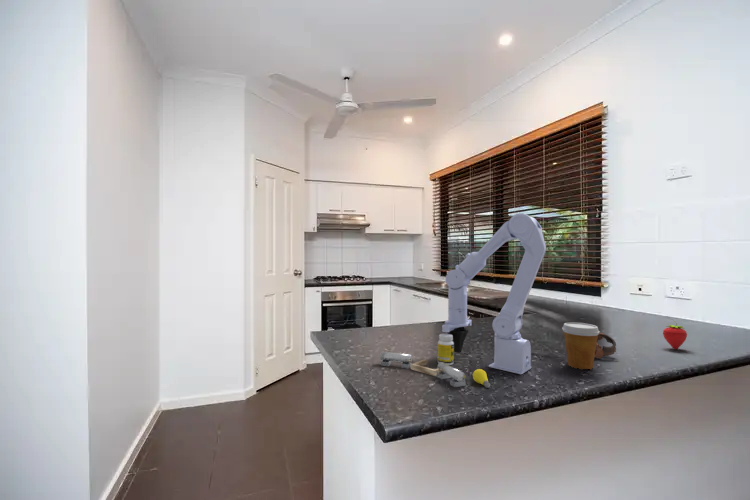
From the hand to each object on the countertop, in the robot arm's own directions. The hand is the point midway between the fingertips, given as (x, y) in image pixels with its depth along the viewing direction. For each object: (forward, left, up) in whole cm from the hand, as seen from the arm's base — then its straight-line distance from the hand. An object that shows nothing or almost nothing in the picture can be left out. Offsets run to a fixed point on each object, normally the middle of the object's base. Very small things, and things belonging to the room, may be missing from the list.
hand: (457, 351), depth 112 cm
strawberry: (-49, -63, -2) cm, 80 cm away
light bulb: (-16, +15, -2) cm, 22 cm away
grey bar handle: (+9, +19, -2) cm, 21 cm away
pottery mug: (-30, -35, -2) cm, 46 cm away
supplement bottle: (0, +7, -2) cm, 7 cm away
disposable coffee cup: (-30, -18, -2) cm, 35 cm away
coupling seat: (0, +15, -2) cm, 15 cm away
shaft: (-9, +19, -2) cm, 21 cm away
